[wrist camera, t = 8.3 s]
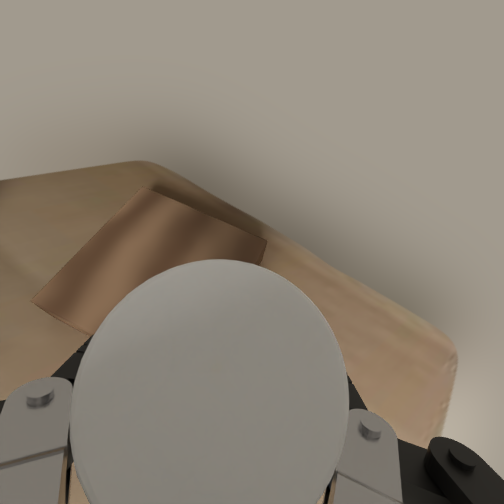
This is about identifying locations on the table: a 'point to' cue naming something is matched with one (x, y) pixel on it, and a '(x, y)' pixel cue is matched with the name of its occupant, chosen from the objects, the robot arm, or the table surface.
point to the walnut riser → (139, 256)
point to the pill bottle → (210, 393)
